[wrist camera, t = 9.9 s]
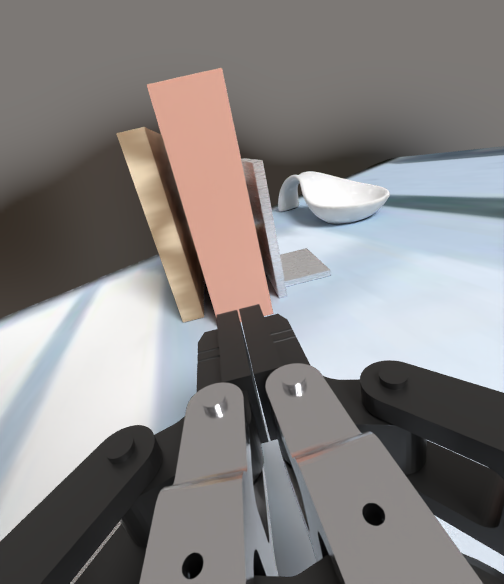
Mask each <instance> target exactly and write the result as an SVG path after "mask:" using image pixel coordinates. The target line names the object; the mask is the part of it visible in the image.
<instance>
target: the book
mask: <svg viewBox="0 0 504 584" xmlns="http://www.w3.org/2000/svg"><path fill="white" fill-rule="evenodd" d="M147 87H148V91H149V94H150V97H151V100H152V104H153V107H154V111H155V114H156V117H157V120H158V124H159V127H160V130H161V134H162V138H163V141H164V144H165V148H166V151H167V154H168V158H169V161H170V164H171V168H172V171H173V174H174V178H175V181H176V184H177V188H178V191H179V194H180V198H181V201H182V204H183V208H184V211H185V215H186V218H187V221H188V225H189V228H190V231H191V235H192V238H193V241H194V245H195V248H196V251H197V255H198V258H199V261H200V265H201V268H202V271H203V275H204V278H205V281H206V285H207V288H208V292H209V295H210V298H211V302H212V305H213V308H214V312H215V315H217V314H221V313H225V312H229V311H233V310H237V311H238V315H239V319H240V322H242V321H241V317H240V312H239V309H241V308H245V307H249V306H253V305H257V304H259V305H260V307H261V310H262V313H263V315H264V316H266V315H270V314H273V309H272V305H271V300H270V295H269V290H268V286H267V281H266V276H265V271H264V267H263V262H262V257H261V252H260V248H259V243H258V238H257V233H256V228H255V224H254V219H253V214H252V209H251V205H250V200H249V195H248V190H247V186H246V181H245V176H244V171H243V166H242V162H241V157H240V152H239V148H238V143H237V138H236V133H235V129H234V124H233V119H232V114H231V109H230V105H229V100H228V95H227V90H226V86H225V81H224V76H223V71H222V68H219V69H214V70H210V71H205V72H200V73H196V74H192V75H187V76H183V77H178V78H174V79H170V80H165V81H161V82H156V83H151V84H147ZM216 318H217V317H216Z"/></svg>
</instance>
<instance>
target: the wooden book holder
mask: <svg viewBox="0 0 504 584" xmlns="http://www.w3.org/2000/svg"><path fill="white" fill-rule="evenodd" d="M117 136H118V139H119V142H120V145H121V148H122V150H123V153H124V156H125V159H126V162H127V164H128V167H129V170H130V173H131V176H132V179H133V181H134V184H135V187H136V190H137V193H138V195H139V198H140V201H141V204H142V207H143V210H144V213H145V215H146V218H147V221H148V224H149V227H150V230H151V233H152V236H153V238H154V241H155V244H156V246H157V250H158V253H159V255H160V258H161V261H162V264H163V267H164V270H165V272H166V275H167V278H168V281H169V284H170V287H171V289H172V292H173V295H174V298H175V301H176V304H177V306H178V309H179V312H180V315H181V318H182V321H183V322H187V321H191V320H195V319H199V318H203V317H204V275H203V271H202V268H201V265H200V261H199V258H198V255H197V251H196V248H195V245H194V241H193V238H192V235H191V231H190V228H189V225H188V221H187V218H186V215H185V211H184V208H183V204H182V201H181V198H180V194H179V191H178V188H177V184H176V181H175V178H174V174H173V171H172V168H171V164H170V161H169V158H168V154H167V151H166V148H165V144H164V141H163V138H162V135H160V134H158V133H156V132H154V131H151V130H149V129H147V128H145V127H142V128H138V129H134V130H129V131H125V132H121V133H117Z"/></svg>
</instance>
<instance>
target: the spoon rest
mask: <svg viewBox="0 0 504 584" xmlns="http://www.w3.org/2000/svg"><path fill="white" fill-rule="evenodd" d="M298 183H300V185H301V189H302V194H303V197H304V199H305V201H306V203H307V205H308V207H309V208H310V210H311V211H312V212H313V213H314V214H315V215H316V216H317V217H318V218H320V219H322V220H324V221H326V222H327V223H331V224H344V223H351V222H355V221H359V220H362V219H365V218H367V217H369V216H371V215H372V214H374V213H375V212H376V211H378V210H379V209H380V208H381V207H382V206H383V205H384V203H385V202H386V200H387V199H388V197H389V194H390V193H389V191H388V190H387V189H385V188H383V187H379V186H376V185H371V184H365V183H360V182H355V181H350V180H347V179H343V178H339V177H335V176H331V175H327V174H323V173H318V172H304V173H302V174H300V175H292V176H290V177H289V178H287V179H286V180H285V182H284V183H283V185H282V188H281V190H280V194H279V200H278V210H279V211H280V212H282V211H287V210H290V209H293V208H296V207H298V206H299V200H298V193H297V186H298Z"/></svg>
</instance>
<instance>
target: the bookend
mask: <svg viewBox="0 0 504 584" xmlns="http://www.w3.org/2000/svg"><path fill="white" fill-rule="evenodd" d="M241 162H242V166H243V171H244V176H245V181H246V186H247V190H248V195H249V200H250V205H251V209H252V214H253V219H254V224H255V228H256V233H257V238H258V243H259V248H260V252H261V257H262V262H263V267H264V270H265V272H266V274H267V276H268V278H269V279H270V281H271V283H272V285H273V287H274V289H275V291H276V293H277V295H278V297H279V298H281V297H285V296H287V291H286V287H287V286H291V285H295V284H299V283H303V282H307V281H311V280H315V279H319V278H323V277H327V276H331V272H330V269H329V268H328V267H326V266H325V265H324V264H323V263H322V262H321V261H320V260H319V259H318V258H317V257H316V256H314V255H313V254H312V253H311V252H310V251H309V250H308V249H307V248H306V249H302V250H298V251H294V252H290V253H286V254H282V255H280V253H279V247H278V242H277V236H276V231H275V225H274V220H273V214H272V209H271V204H270V198H269V193H268V187H267V182H266V176H265V171H264V165H263V161H262V160H254V159H241Z"/></svg>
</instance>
